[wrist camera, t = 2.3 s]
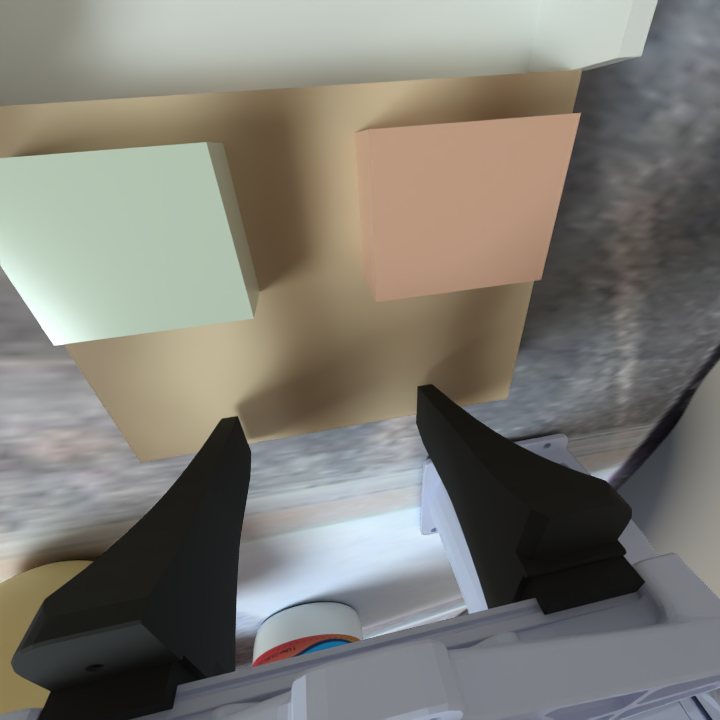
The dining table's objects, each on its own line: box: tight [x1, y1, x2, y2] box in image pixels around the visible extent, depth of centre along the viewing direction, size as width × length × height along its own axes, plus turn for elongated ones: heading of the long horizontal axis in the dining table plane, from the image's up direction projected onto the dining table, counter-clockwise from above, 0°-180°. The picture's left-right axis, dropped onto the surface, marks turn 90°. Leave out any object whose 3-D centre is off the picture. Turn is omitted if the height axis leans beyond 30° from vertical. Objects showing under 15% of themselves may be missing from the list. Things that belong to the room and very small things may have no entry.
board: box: [0, 70, 582, 462], centre depth 12 cm, size 16×12×2 cm
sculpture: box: [0, 561, 94, 714], centre depth 17 cm, size 12×12×11 cm
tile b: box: [0, 142, 260, 346], centre depth 8 cm, size 5×4×2 cm
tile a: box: [355, 113, 581, 302], centre depth 9 cm, size 5×4×2 cm
